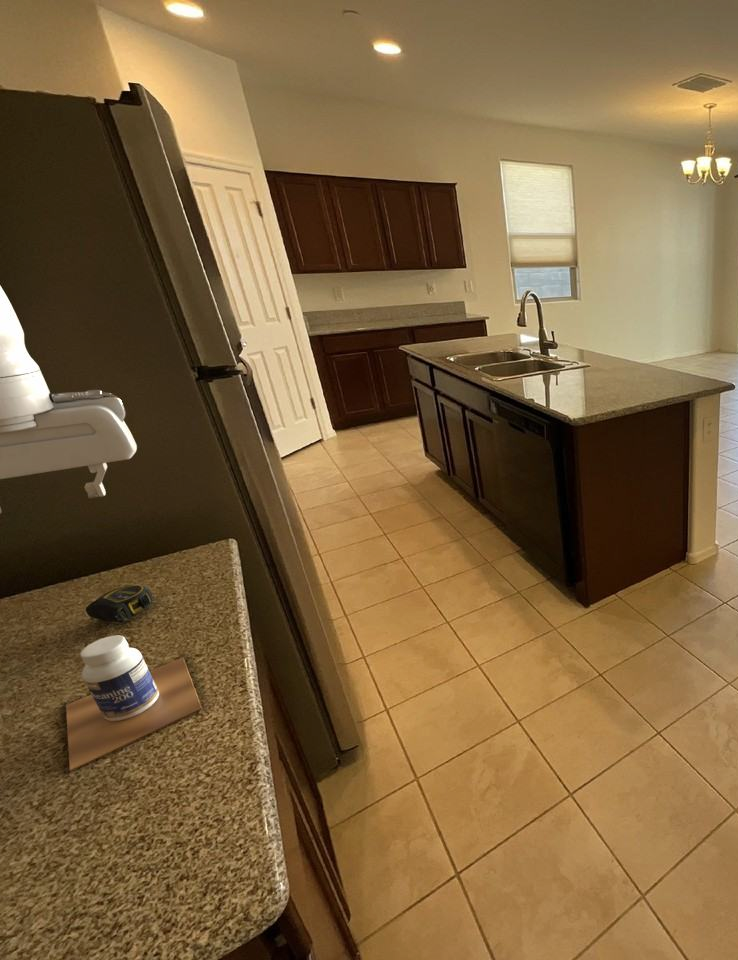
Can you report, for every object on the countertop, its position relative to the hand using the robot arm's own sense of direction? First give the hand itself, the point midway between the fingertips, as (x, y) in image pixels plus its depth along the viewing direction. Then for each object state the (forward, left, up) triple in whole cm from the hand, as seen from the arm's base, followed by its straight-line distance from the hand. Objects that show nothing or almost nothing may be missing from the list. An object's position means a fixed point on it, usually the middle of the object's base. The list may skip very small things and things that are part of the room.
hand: (47, 505), depth 67 cm
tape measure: (-5, +12, -25) cm, 28 cm away
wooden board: (+6, -12, -25) cm, 28 cm away
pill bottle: (+6, -12, -25) cm, 28 cm away
